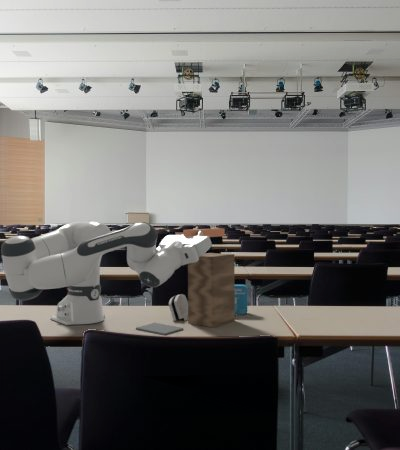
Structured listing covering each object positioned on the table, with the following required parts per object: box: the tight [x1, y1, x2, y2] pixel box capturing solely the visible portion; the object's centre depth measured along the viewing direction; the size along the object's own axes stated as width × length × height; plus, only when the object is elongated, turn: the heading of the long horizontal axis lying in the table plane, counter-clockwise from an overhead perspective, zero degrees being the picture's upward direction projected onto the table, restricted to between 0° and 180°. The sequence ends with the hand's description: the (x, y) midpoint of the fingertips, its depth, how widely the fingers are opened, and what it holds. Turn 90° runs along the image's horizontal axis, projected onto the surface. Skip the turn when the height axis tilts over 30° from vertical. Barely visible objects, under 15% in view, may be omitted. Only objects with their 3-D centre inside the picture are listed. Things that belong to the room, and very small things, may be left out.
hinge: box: [168, 293, 188, 322], centre depth 190 cm, size 17×5×10 cm, turn 169°
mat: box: [135, 322, 184, 336], centre depth 168 cm, size 14×10×1 cm
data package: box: [234, 283, 248, 316], centre depth 195 cm, size 12×4×12 cm, turn 84°
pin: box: [182, 227, 226, 238], centre depth 176 cm, size 3×22×3 cm, turn 142°
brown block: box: [187, 252, 236, 328], centre depth 180 cm, size 12×14×26 cm
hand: (196, 232), depth 172 cm, fingers closed on pin, 3 cm apart
